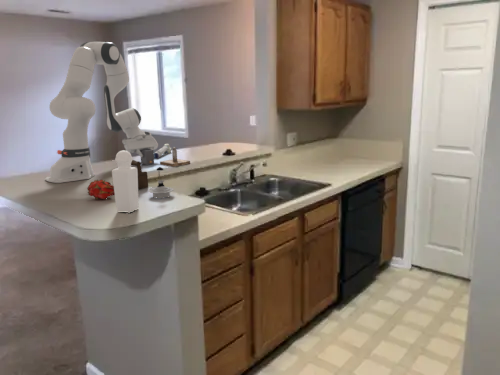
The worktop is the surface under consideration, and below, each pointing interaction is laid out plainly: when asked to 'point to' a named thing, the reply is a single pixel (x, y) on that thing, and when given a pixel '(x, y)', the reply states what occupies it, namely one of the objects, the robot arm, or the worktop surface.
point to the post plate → (179, 162)
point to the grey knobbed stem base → (161, 188)
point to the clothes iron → (141, 175)
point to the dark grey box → (147, 156)
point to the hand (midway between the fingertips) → (147, 155)
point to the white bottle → (125, 183)
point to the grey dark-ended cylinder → (162, 151)
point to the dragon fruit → (100, 189)
